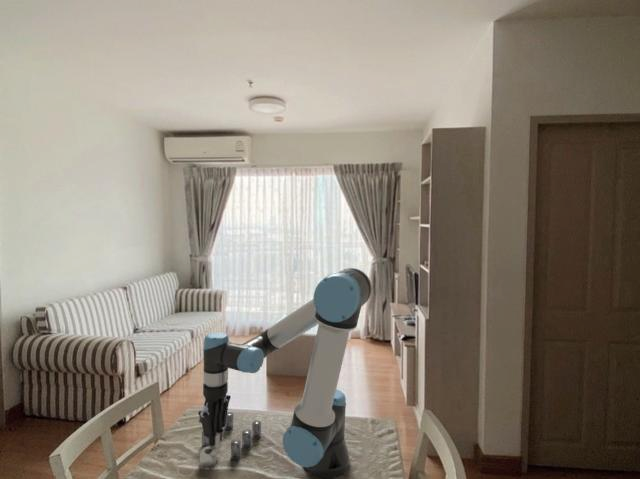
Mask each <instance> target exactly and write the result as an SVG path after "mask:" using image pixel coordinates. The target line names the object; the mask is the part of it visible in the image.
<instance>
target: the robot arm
mask: <svg viewBox="0 0 640 479" xmlns="http://www.w3.org/2000/svg"><path fill="white" fill-rule="evenodd" d="M371 282H372V281H371V280H370V278H369V276H368V275H367V274H366V273H365V272H364V271H362V270H360V269H358V268H353V267H348V268H345V269H343V270H340V271H337V272H333V273H330V274H328V275H326V276H325V277H323V279H322V280H320V281H319V283H318V284H317V285H316V287H315V289H314V292H313V298H312V299H311V300H309V301H307V303H305V304H303V305H302V306H301V307H299V308H297V309H296V310H294V311H293V312H291V313H290V314H288V315H287V316H285V317H284V318H282V319H280V320H279V321H278V322H276V323H275V324H273V325H272V326H270V327H269V328H267V329H265V330H264V331H263V332H261V333H260V334H258V335H256V336H255V337H253V338H251V339H249V340H247V341H245V342H244V343H235V342H231V341H230V339H229V335H228V334H227V333H226V332H223V331H215V332H211V333H209V334H207V335H205V336H204V338H203V348H202V351H203V354H202V355H203V381H202V382H203V384H202V395H203V397H204V400H205V401H204V404H203V405H204V407H203V409H202V410H198V416H199V418H200V417H201V420H200V421H201V422H200V423H201V425H202V426H201V427H202V432H204V436H206V437H209V445H210V446H213V447H215V448H216V457H217V456H219V454H220V447H221V446H220V445H221V444H220V443H221V442H220V441H221V439H220V433H224V430H225V429H223V430H222V427H223V428H225V424H226V417H227V413H228V411H229V404H230V400H231V395H230V394H228V392H229V391H228V388H229V385H228V384H229V382H228V380H229V369H231V370H233V371H238V372H241V373H247V374H248V373H249V374H255V373H258V372H259V371H260V370H261V367H263V365H264V364H263V363H264V361H265V360H264V359H265V358H266V357H269V356H270V355H271V354H273V353H275V352H276V351H278V350H279V349H281V348H282V347H284V346H285V345H288V343H290V342H292V341H293V340H295V339H297V338H298V337H300V336H301V335H303V334H305V333H306V332H309V331H310V330H311V329H313V328H315V327H316V326H318V327H317V331H316V335H315V340H314V343H313V349H312V353H311V359H310V363H309V367H308V371H307V375H306V380H305V383H304V385H305V386H304V391H303V394H302V399H301V400H300V401H298V402H297V403H296V404H295V407H294V411H293V413H292V414H293V415H292V418H291V419H292V420H291V423H290V425H289V426H288V427H287V428H286V430H285V432H284V434H283V435H282V446H283V449H284V452H285V453H286V455H287V456H288V458H289V460H291V461H292V462H293V463H294V464H296V465H298V466H300V467H303V468H304V469H305V471H307V472H308V473H309V474H310V475H312V476H314V477H317V478H323V479H331V478H332V477H333V478H336V477H335V476H337V477H339V476H341V475H343V474H344V473H345V472H346V471H347V470H348V469H349V464H350V455H349V454H350V453H349V450H348V447H347V443H346V440H345V430H346V428H345V426H346V407H347V403H346V400H347V398H346V395H345V393H343V392H342V391H341V390H339V389H337V387H338V382H339V380H340V374H341V370H342V366H343V361H344V357H345V354H346V353H345V352H346V348H347V345H348V340H349V335H350V332H351V331H353V330H355V329H356V328H357V326H358V323H359V318H360V313H361V309H362V306H364V305H365V304H366V303H367V302H368V300H369V299H370V297H371V294H372V290H373V289H372V288H373V287H372V283H371ZM346 469H347V470H346ZM343 472H344V473H343ZM342 473H343V474H342ZM340 474H341V475H340ZM338 475H339V476H338Z"/></svg>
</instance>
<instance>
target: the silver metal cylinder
mask: <svg viewBox="0 0 640 479" xmlns="http://www.w3.org/2000/svg"><path fill="white" fill-rule="evenodd" d="M216 465H217V456H216V448H215V447H213V446H207V447H204V448H203V449H202V448H201V449H200V451H199V468H201V467H202V468H210V469H212V468H215V466H216ZM211 467H212V468H211ZM202 468H201V469H202Z"/></svg>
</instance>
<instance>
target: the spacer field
mask: <svg viewBox="0 0 640 479" xmlns="http://www.w3.org/2000/svg"><path fill="white" fill-rule="evenodd" d="M251 424H252V425H251V426H252V428H251V429H244V430H242V431H241V432H242V434H241V440H239V439H238V438H237V439H236V438H235V439H233V440H232V441H231V442H230V459H231V461H239V459H240V458H241V449H243V450H249V449H250V448H251V447H252V439H254V440H259V439H260V438H261V437H262V422H261V420H253V422H252V423H251ZM233 429H234V412H230V411H229V412H228V411H227V417H226V424H225V427H222V430H226V431H231V430H233ZM223 433H224V432H223ZM223 433H220V440H221V439H222V438H223ZM207 446H210V445H209V437H206V436H204V432H203V431H202V432H201V449H203V448H204V447H207Z"/></svg>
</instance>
